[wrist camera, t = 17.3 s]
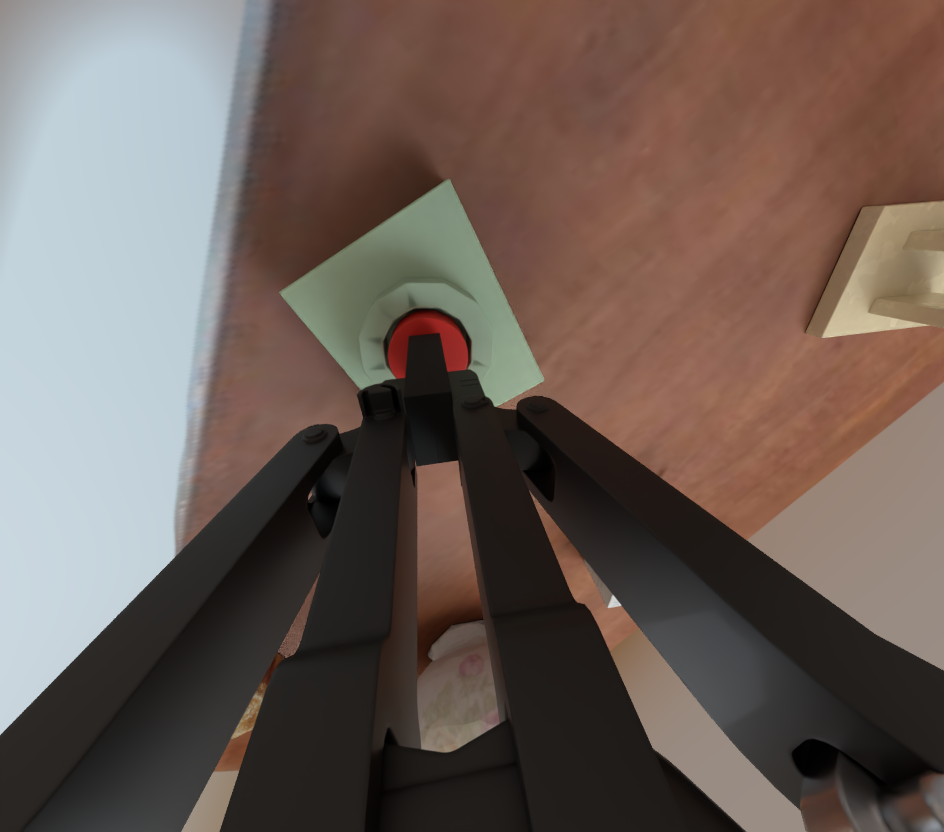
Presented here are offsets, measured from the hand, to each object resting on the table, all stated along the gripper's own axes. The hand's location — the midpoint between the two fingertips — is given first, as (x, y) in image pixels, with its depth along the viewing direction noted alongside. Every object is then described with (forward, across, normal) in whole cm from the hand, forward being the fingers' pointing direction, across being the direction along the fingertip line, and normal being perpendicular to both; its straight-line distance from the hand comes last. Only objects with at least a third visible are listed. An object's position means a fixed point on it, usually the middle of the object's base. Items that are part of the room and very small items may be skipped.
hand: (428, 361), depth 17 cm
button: (+2, 0, 0) cm, 2 cm away
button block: (+5, 0, 0) cm, 5 cm away
